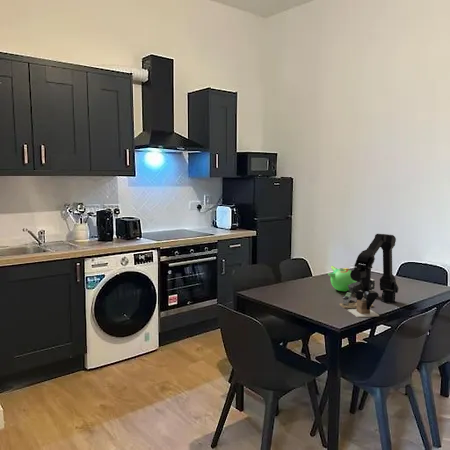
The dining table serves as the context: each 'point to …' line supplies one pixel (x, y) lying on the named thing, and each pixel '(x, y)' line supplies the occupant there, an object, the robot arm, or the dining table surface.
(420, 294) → the dining table surface
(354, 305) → the plane block
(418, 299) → the dining table surface
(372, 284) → the security camera
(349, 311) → the trivet
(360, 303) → the cap block
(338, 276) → the toy bird
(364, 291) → the robot arm
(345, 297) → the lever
